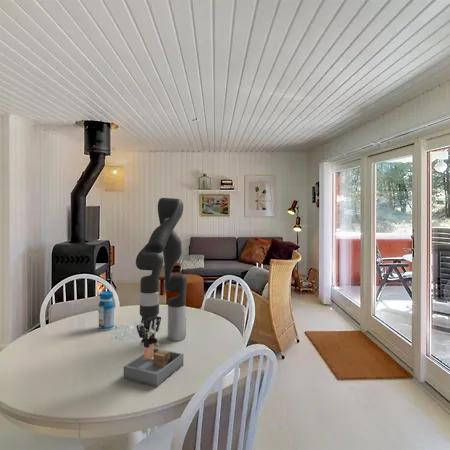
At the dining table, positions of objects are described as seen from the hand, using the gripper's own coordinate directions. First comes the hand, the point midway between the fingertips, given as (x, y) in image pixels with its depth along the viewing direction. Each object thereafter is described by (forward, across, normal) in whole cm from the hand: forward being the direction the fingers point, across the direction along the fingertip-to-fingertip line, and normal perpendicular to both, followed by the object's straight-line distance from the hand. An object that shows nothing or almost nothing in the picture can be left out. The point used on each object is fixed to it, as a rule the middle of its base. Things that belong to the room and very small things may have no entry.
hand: (149, 345), depth 134 cm
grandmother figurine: (+6, 0, 0) cm, 6 cm away
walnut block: (+12, +9, 0) cm, 15 cm away
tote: (+13, +4, 0) cm, 13 cm away
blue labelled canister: (+13, +34, +53) cm, 64 cm away
